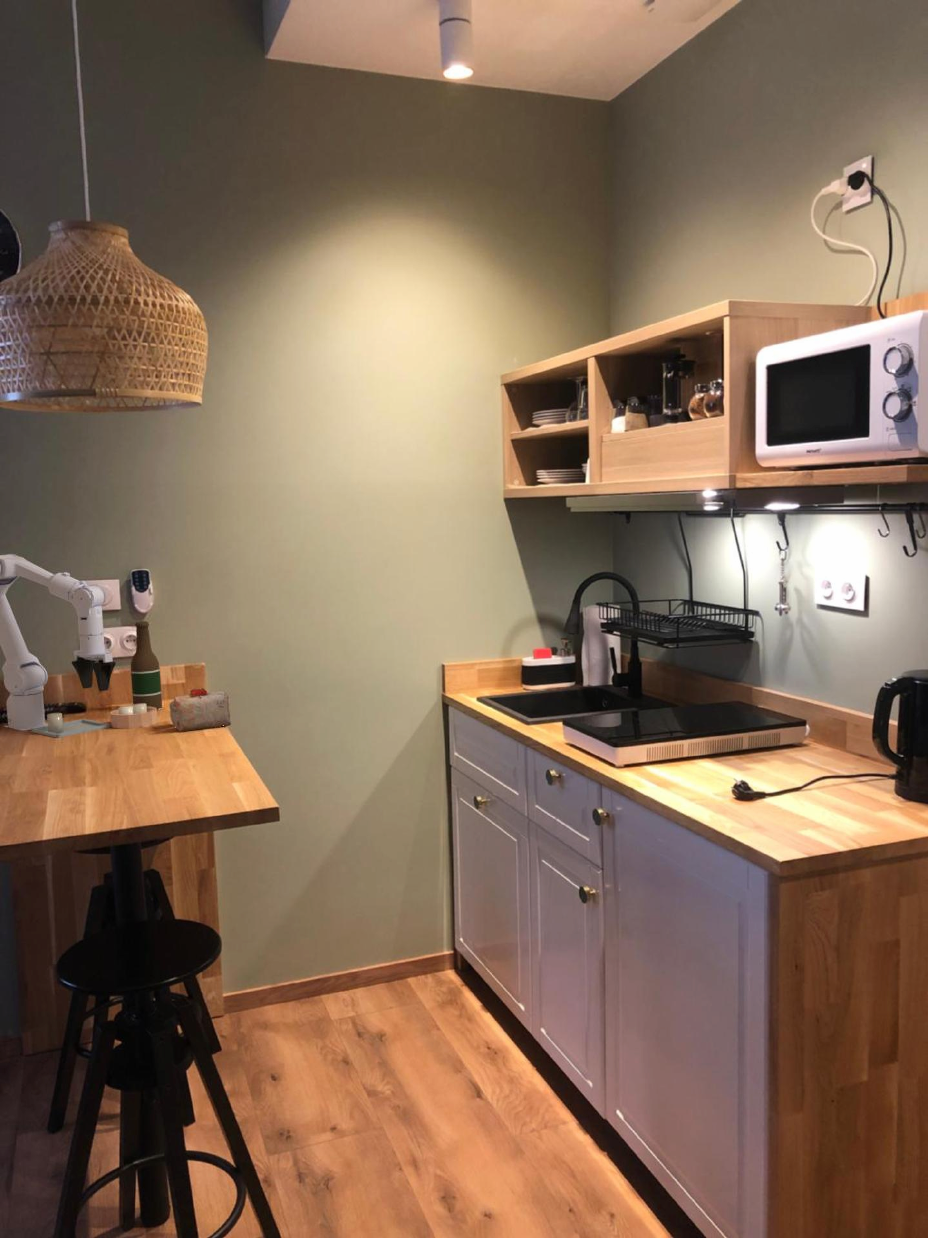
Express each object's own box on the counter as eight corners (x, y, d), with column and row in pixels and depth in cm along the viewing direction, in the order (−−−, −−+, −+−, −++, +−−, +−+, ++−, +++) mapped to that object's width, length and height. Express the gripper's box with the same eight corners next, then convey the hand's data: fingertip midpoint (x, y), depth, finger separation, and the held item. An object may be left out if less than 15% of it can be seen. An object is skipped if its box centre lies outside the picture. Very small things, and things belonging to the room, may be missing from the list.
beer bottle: (158, 712, 277) (152, 622, 274) (129, 713, 277) (122, 624, 274) (166, 706, 284) (160, 619, 282) (137, 707, 284) (131, 620, 282)
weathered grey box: (175, 734, 248) (173, 693, 247) (169, 728, 255) (167, 688, 254) (232, 727, 254) (230, 687, 253) (225, 721, 261) (222, 682, 260)
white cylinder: (45, 733, 252) (44, 714, 252) (59, 730, 255) (57, 712, 254) (52, 734, 250) (51, 716, 249) (66, 731, 252) (64, 713, 252)
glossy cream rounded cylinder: (131, 722, 261) (129, 704, 260) (143, 720, 263) (142, 702, 263) (137, 724, 258) (135, 706, 258) (149, 721, 261) (148, 704, 260)
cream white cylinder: (117, 725, 258) (115, 707, 257) (129, 722, 260) (128, 705, 260) (124, 727, 255) (122, 709, 255) (136, 724, 258) (135, 706, 257)
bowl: (102, 727, 259) (101, 712, 259) (141, 719, 267) (140, 705, 267) (127, 732, 252) (125, 716, 251) (166, 724, 260) (165, 709, 260)
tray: (31, 733, 254) (30, 729, 254) (84, 723, 265) (83, 718, 265) (57, 739, 246) (57, 734, 246) (111, 729, 256) (111, 724, 256)
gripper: (122, 634, 253) (126, 689, 255) (90, 631, 263) (94, 684, 264) (95, 637, 248) (99, 693, 249) (64, 634, 257) (68, 688, 259)
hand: (95, 689), depth 256 cm, fingers open, 7 cm apart
